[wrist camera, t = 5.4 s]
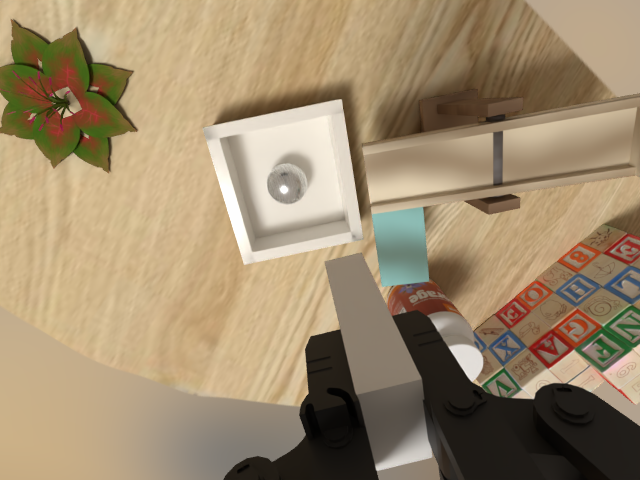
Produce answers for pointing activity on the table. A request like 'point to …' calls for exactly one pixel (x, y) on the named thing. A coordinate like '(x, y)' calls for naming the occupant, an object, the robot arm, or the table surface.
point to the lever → (490, 169)
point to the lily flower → (36, 97)
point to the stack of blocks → (570, 324)
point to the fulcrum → (466, 111)
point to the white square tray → (298, 149)
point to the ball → (287, 183)
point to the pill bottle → (439, 320)
